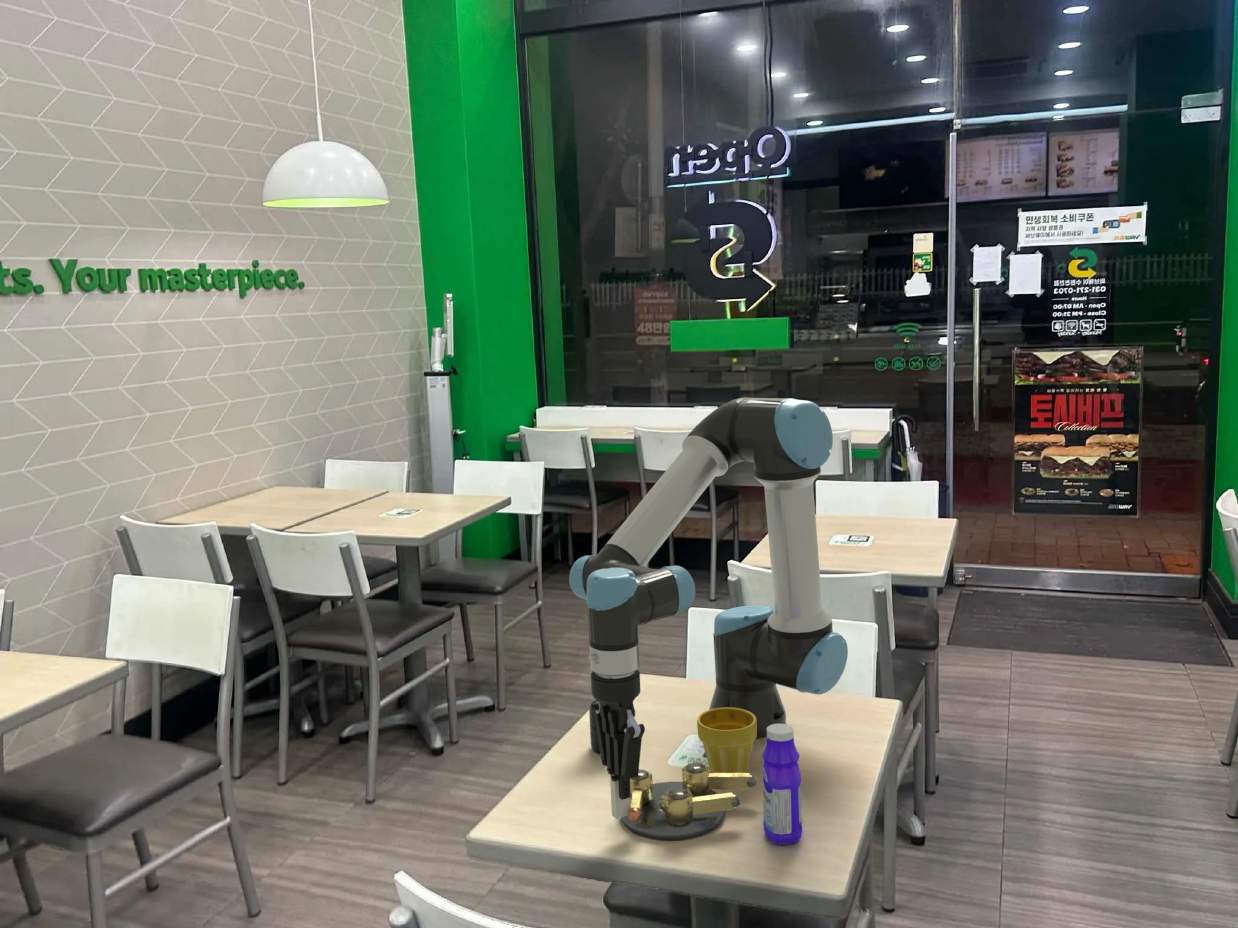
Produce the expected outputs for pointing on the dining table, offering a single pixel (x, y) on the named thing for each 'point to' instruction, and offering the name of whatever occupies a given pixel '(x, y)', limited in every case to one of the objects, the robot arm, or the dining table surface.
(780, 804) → the bottle
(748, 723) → the plant pot
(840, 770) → the dining table surface
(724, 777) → the knob left
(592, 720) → the supplement bottle
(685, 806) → the knob
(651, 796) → the knob
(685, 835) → the tribrach plate
